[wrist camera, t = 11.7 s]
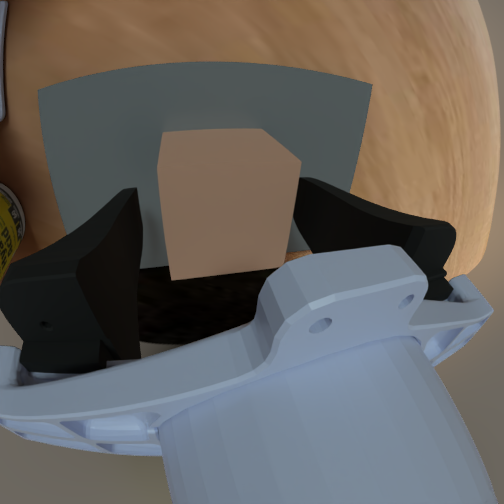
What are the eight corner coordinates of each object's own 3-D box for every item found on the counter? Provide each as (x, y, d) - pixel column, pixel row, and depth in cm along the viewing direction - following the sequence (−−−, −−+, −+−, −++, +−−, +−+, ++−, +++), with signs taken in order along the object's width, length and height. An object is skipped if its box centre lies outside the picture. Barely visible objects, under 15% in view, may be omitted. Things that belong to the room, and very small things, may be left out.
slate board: (85, 262, 16) (82, 274, 16) (47, 87, 9) (37, 89, 8) (326, 237, 21) (333, 247, 20) (360, 81, 13) (372, 84, 12)
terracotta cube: (169, 218, 15) (171, 280, 11) (162, 132, 12) (156, 167, 8) (254, 211, 16) (283, 266, 12) (261, 128, 13) (301, 161, 9)
